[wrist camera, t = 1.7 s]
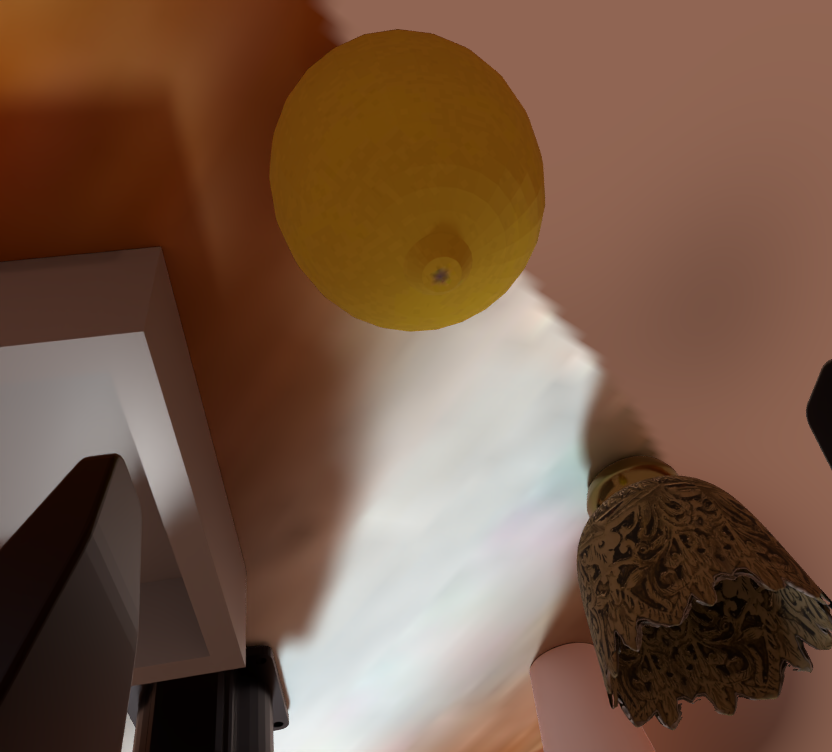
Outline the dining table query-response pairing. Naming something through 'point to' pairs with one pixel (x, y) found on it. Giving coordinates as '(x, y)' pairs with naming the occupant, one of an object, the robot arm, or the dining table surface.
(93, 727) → the robot arm
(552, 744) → the smoothie
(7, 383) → the bin
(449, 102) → the lemon
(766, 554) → the cup
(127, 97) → the dining table surface
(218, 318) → the dining table surface
